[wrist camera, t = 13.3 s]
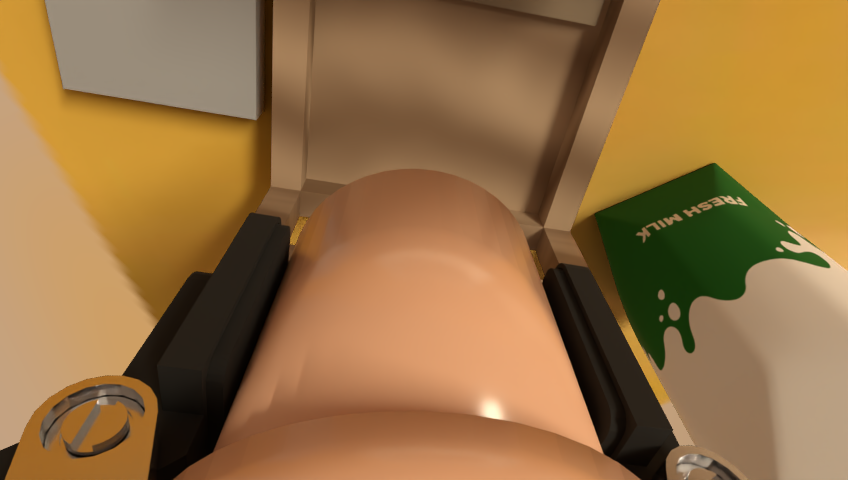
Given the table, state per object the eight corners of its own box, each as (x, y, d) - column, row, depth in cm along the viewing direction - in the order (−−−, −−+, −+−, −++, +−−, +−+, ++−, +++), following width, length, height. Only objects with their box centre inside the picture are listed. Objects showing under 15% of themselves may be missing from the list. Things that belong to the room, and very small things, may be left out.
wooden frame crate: (551, 231, 29) (590, 318, 23) (282, 190, 28) (238, 271, 21) (735, -275, 18) (924, -400, 11) (296, -393, 16) (212, -621, 10)
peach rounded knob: (505, 387, 13) (583, 785, 7) (270, 356, 12) (124, 768, 6) (591, 179, 10) (876, 576, 4) (281, 122, 9) (4, 493, 3)
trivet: (264, 110, 25) (256, 119, 24) (81, 80, 24) (63, 88, 23) (265, -96, 21) (255, -98, 19) (39, -143, 20) (13, -149, 18)
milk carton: (616, 310, 33) (829, 713, 16) (573, 205, 28) (801, 602, 12) (753, 260, 31) (1167, 661, 14) (728, 138, 26) (1288, 502, 9)
